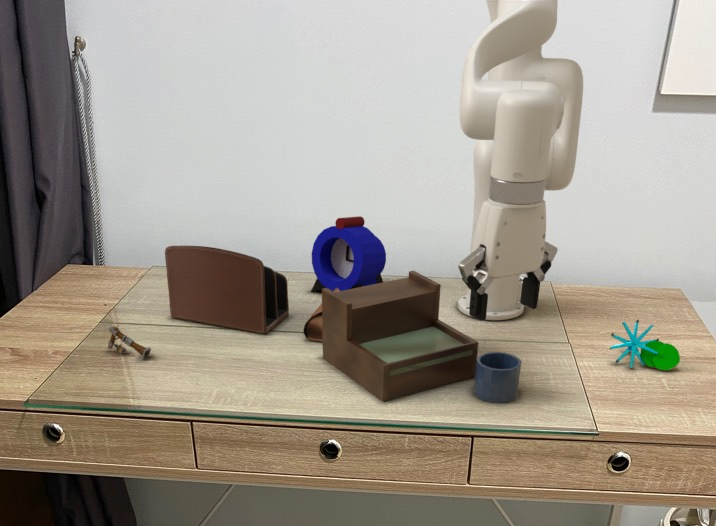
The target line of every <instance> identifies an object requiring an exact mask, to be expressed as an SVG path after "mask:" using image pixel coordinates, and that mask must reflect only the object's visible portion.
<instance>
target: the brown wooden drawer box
mask: <svg viewBox="0 0 716 526" xmlns="http://www.w3.org/2000/svg"><path fill="white" fill-rule="evenodd" d="M441 287H442V286H441V284H440V283H439V282H437V281H435V280H433V279H431V278H429V277H426V276H425V275H423V274H421V273H420V272H417V271H415V270H409V271H408V277H403V278H399V279H394V280H389V281H383V283H378V284H373V285H368V286H363V287H358V288H353V289H349V290H344V291H339V292H333V291H332V290H330V289H328V288H323V289H321V304H322V334H323V342H322V359H324V360H325V361H327V362H329V364H331V365H332V366H333V367H334V368H336V369H337V370H339V371H340V372H341V373H343V374H344V375H346V376H347V377H349V378H350V379H351V380H353V381H354V382H355V383H356V384H358V385H359V386H361V387H362V388H363V389H365V390H366V391H367V392H369V393H370V394H371V395H373V396H374V397H376V398H378V399H379V400H380V401H381V402H387V401H391V400H395V399H398V398H402V397H405V396H409V395H413V394H416V393H420V392H424V391H427V390H431V389H434V388H438V387H441V386H445V385H449V384H454V383H457V382H460V381H464V380H467V379H471V378H475V373H476V363H477V358H478V354H479V353H478V350H479V341H477V340H476V339H474V338H472V337H470V336H468V335H467V334H465V333H463V332H461V331H460V330H458V329H456V328H454V327H453V326H451V325H450V324H447V323H446V322H443V321H442V320H440V319H439V316H440V315H439V314H440V299H441Z"/></svg>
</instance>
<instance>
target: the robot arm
mask: <svg viewBox="0 0 716 526" xmlns="http://www.w3.org/2000/svg"><path fill="white" fill-rule="evenodd" d="M485 1H486V6H487V9H488V13H489V18H490V24H489V25H488V26H487V27H486V28H485V29H483V31H481V33H480V34H479V35H478V37H477V38H476V40H475V41H474V42H473V44H472V46H471V47H470V49H469V50H468V53H467V55H466V58H465V60H464V64H463V68H462V73H461V84H460V98H459V111H458V112H459V113H458V115H459V124H460V128H461V130H462V133H463V134H464V135H465V136H466V137H468V138H470V139H472V140H476V142H475V144H474V149H473V175H474V176H473V178H474V179H473V180H474V201H473V202H474V203H473V218H472V231H471V242H470V253H469V255H467V256H466V257H465V258H463V259H462V260H461V261H459V263H458V265H457V266H458V270H459V273H460V275H461V280H462V282H463V283H464V285H466V287H467V288H466V294H464V295H462V296H461V297H459V299H458V300H457V308H458V310H459V311H460V312H461V313H462V314H464V315H465V316H468V317H471V318H474V319H476V320H479V321H482V322H483V321H506V320H512V319H514V318H517V317H519V316H522V314H523V313H524V311H525V307H527V308H529V309H531V310H535V309H537V308H538V303H539V297H540V289H541V283H542V282H544V281H545V278H546V274H547V273H548V271H549V270H550V269H551V267H552V262H553V260H554V259H555V257H556V255H557V252H558V251H559V250H558V247H557V246H555V245H553V244H551V243H550V242H547V241H546V238H547V237H546V236H547V207H546V200H545V199H544V196H545V191H561V190H563V189H566V188H567V187H569V185H570V184H571V182H572V180H573V177H574V173H575V169H576V161H577V153H578V145H579V134H580V126H581V117H582V107H583V97H584V75H583V70H582V67H581V66H580V64H579V63H578V62H577V61H575V60H573V59H569V58H562V57H561V58H558V57H557V58H556V57H554V58H553V57H551V58H550V57H543V55H542V50H543V49H542V48H543V47H542V46H543V45H545V44H546V43H547V42H548V41H549V40H550V39H551V38H552V37H553V34H554V32H555V30H556V28H557V23H558V3H559V2H558V1H559V0H485ZM486 74H488V75H487V79H482V78H483V77H484V76H485V75H486ZM523 274H525V276H523V278H522V281H521V280H520V276H521V275H523ZM518 302H519V303H518Z"/></svg>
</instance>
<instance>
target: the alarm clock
mask: <svg viewBox="0 0 716 526" xmlns="http://www.w3.org/2000/svg"><path fill="white" fill-rule="evenodd" d="M365 222H366V221H365V219H364V217H363V216H347V217H338V218H336V220H335V225H332V226H329V227H326V228H323V230H322V231H321V232H320V233H318V235H317V236H316V238H315V240H314V242H313V246H312V249H311V265H312V268H313V272H314V275H315V276H316V279H315V281H314V284H313V286H312V288H311V290H310V293H311V292H312V293H313V292H316V291H320V290H322V289H324V288H328V289H330V290H331V291H334V290H335V289H336V288H338V289H339V290H340V291H344V290H349V289H353V288H358V287H363V286H368V285H373V284H378V283H383V282H384V280H383V277H382V275H381V274H382V273H383V271H384V269H385V266H386V262H387V252H386V249H385V246H384V244H383V242H382V239H380V238H379V237H378V236H377V235H375V234H374V233H373V232H372V231H371V230H370V229H369V228H368V227H366V226H365Z"/></svg>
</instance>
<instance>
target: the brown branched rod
mask: <svg viewBox="0 0 716 526" xmlns="http://www.w3.org/2000/svg"><path fill="white" fill-rule="evenodd" d="M108 331H109V333H111V335H110V339H109V341H108V346H107V348H108V349H109V350H111V349H113V347H114V348H115V351H116V352H119V353H120V354H121V355H122V354H124V355H126V354H127V353H128V351H127V349H126V348H127V347H124V346H122V344H121V343H120V344H118V343H117V344H116V343H115V341H117V340H119V339H120V340H121V342H122V343H123V344H125V345H126V346H128V347H129V348H132V349H134V350H135V352H137V353H138V354H139V355H140V356H141V358H140V359H141V360H142V361H144V360H145V359H147V358H148V357H149V356H150V354H151V350H152V347H150V346H148V347H145V346H143V345H142V344H141V345H140V344H139V343H136V342H135V340H134V339H132V338H131V337H130V336H128V335H127V334H124V333H123V332H121V330H120V329H119V327H118V326H115V325H113V326H112V325H109V326H108Z"/></svg>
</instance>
